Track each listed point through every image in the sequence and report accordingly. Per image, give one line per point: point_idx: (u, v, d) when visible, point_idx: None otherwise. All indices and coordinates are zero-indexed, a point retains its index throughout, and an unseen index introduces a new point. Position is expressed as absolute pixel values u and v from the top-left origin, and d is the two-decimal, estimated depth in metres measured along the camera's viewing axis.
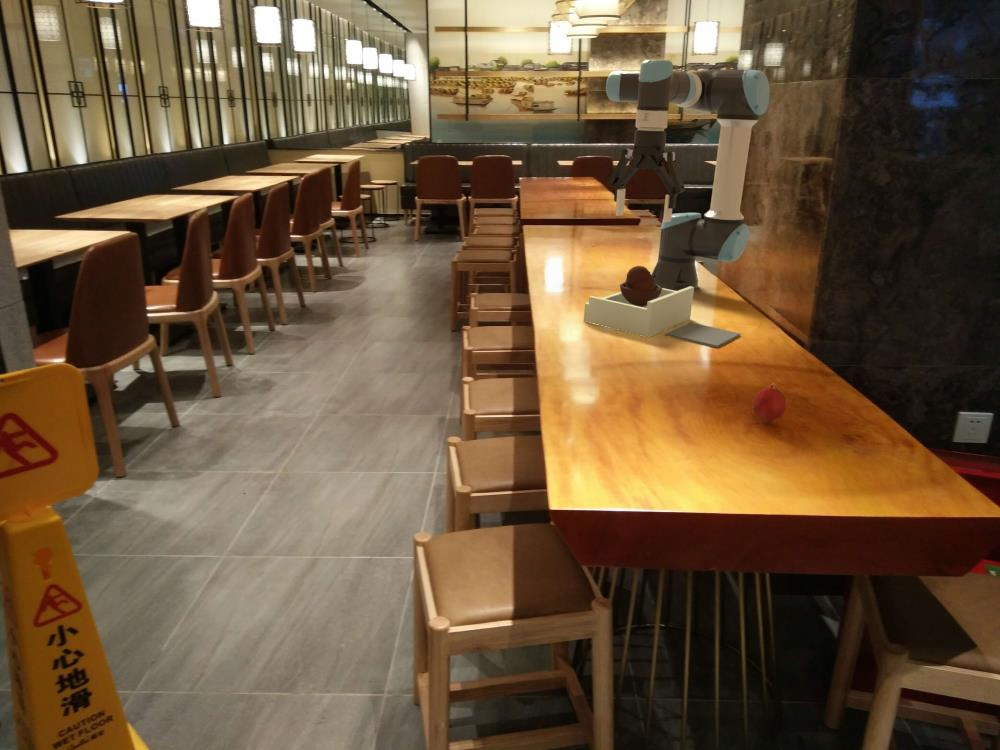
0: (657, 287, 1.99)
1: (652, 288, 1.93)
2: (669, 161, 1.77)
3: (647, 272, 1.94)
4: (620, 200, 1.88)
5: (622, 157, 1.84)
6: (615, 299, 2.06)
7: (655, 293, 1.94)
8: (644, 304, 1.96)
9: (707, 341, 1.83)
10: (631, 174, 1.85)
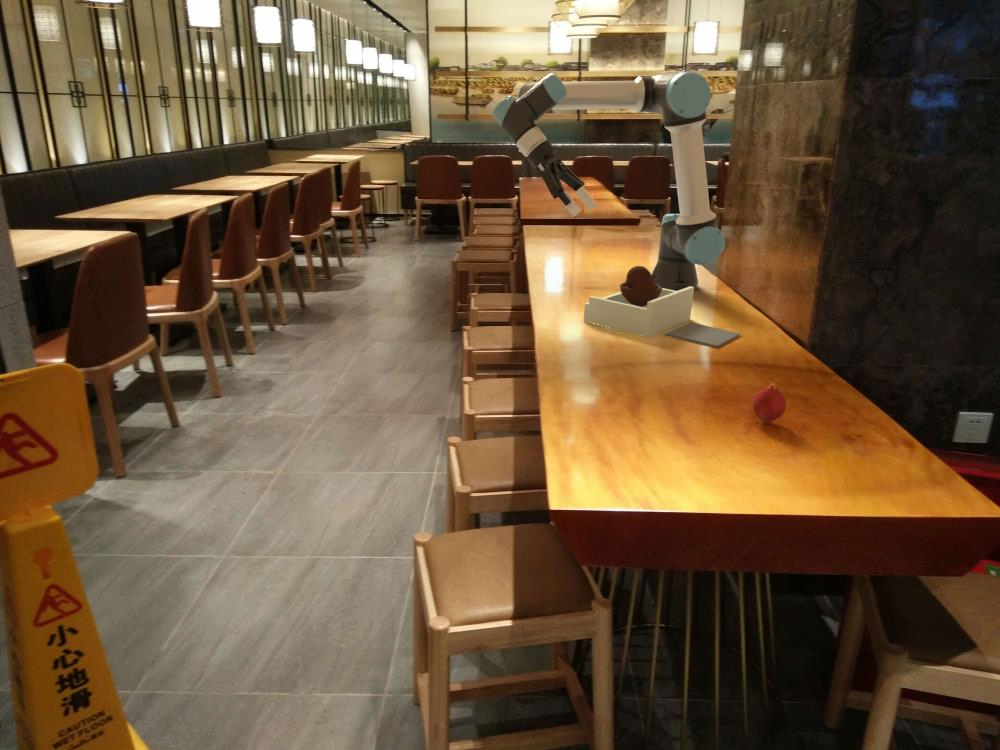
0: (657, 287, 1.99)
1: (652, 288, 1.93)
2: None
3: (647, 272, 1.94)
4: (582, 198, 2.05)
5: None
6: (615, 299, 2.06)
7: (655, 293, 1.94)
8: (644, 304, 1.96)
9: (707, 341, 1.83)
10: (568, 178, 2.03)
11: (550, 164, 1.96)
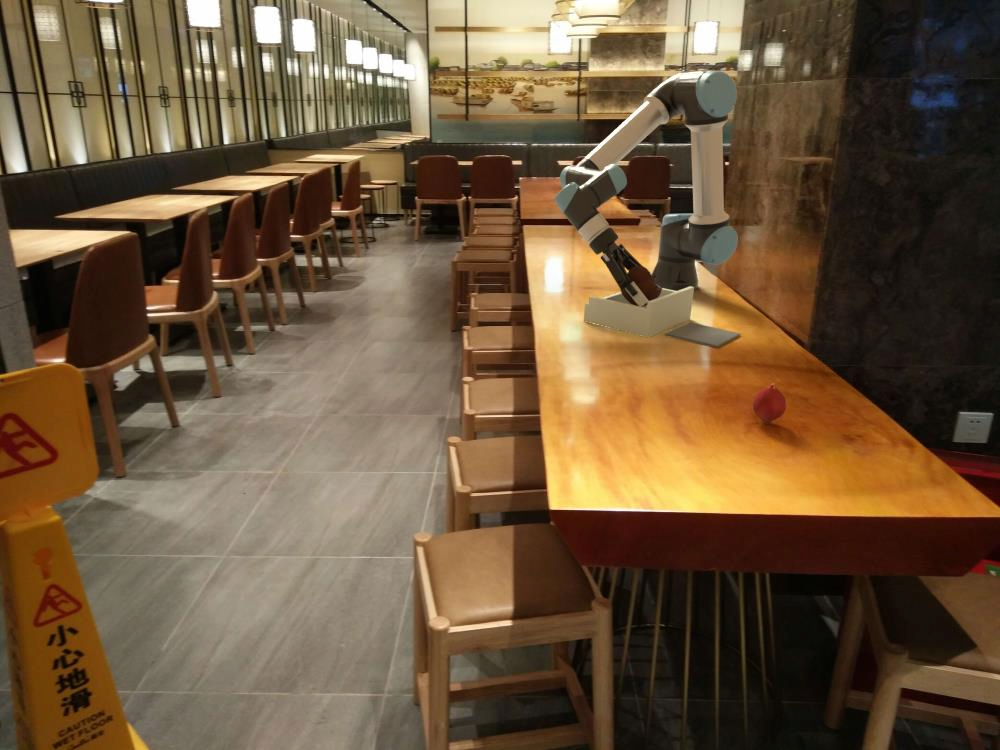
0: (657, 287, 1.99)
1: (652, 288, 1.93)
2: None
3: (647, 272, 1.94)
4: None
5: None
6: (615, 299, 2.06)
7: (655, 293, 1.94)
8: (644, 304, 1.96)
9: (707, 341, 1.83)
10: (629, 265, 2.01)
11: (613, 251, 1.95)
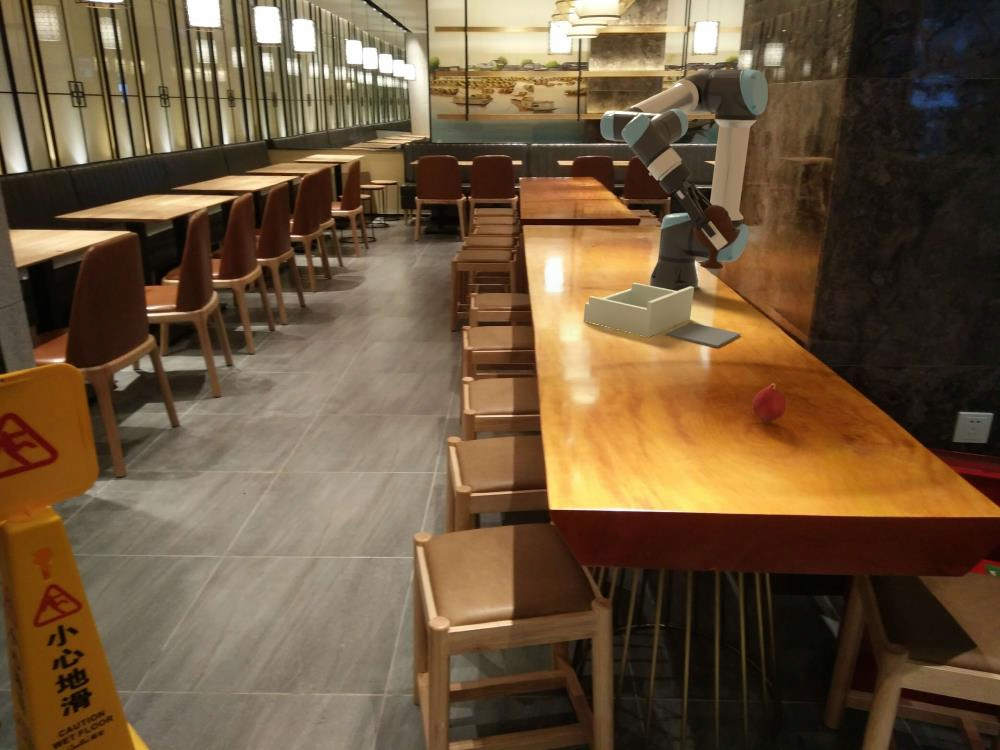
0: (734, 229, 1.81)
1: (731, 229, 1.76)
2: None
3: (725, 211, 1.76)
4: None
5: None
6: (615, 299, 2.06)
7: (734, 234, 1.76)
8: None
9: (707, 341, 1.83)
10: (703, 205, 1.83)
11: (687, 189, 1.78)
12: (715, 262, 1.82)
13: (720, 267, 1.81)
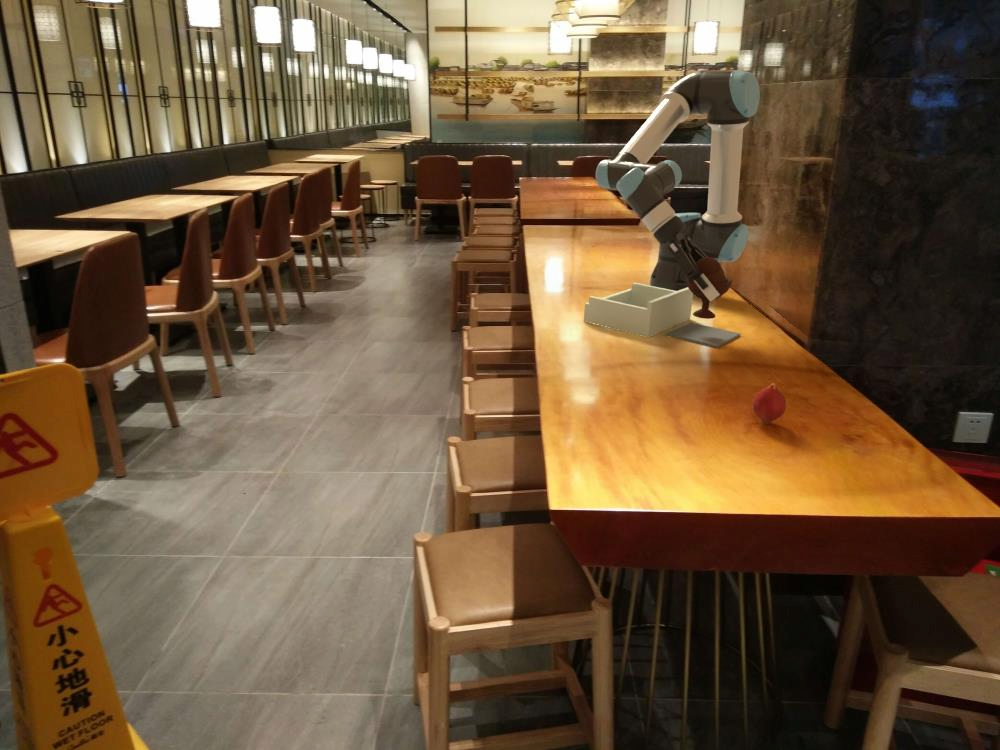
0: (726, 280, 1.85)
1: (723, 281, 1.80)
2: None
3: (717, 263, 1.80)
4: None
5: None
6: (615, 299, 2.06)
7: (726, 286, 1.80)
8: None
9: (707, 341, 1.83)
10: (696, 256, 1.87)
11: (680, 241, 1.81)
12: (708, 312, 1.85)
13: (712, 317, 1.85)
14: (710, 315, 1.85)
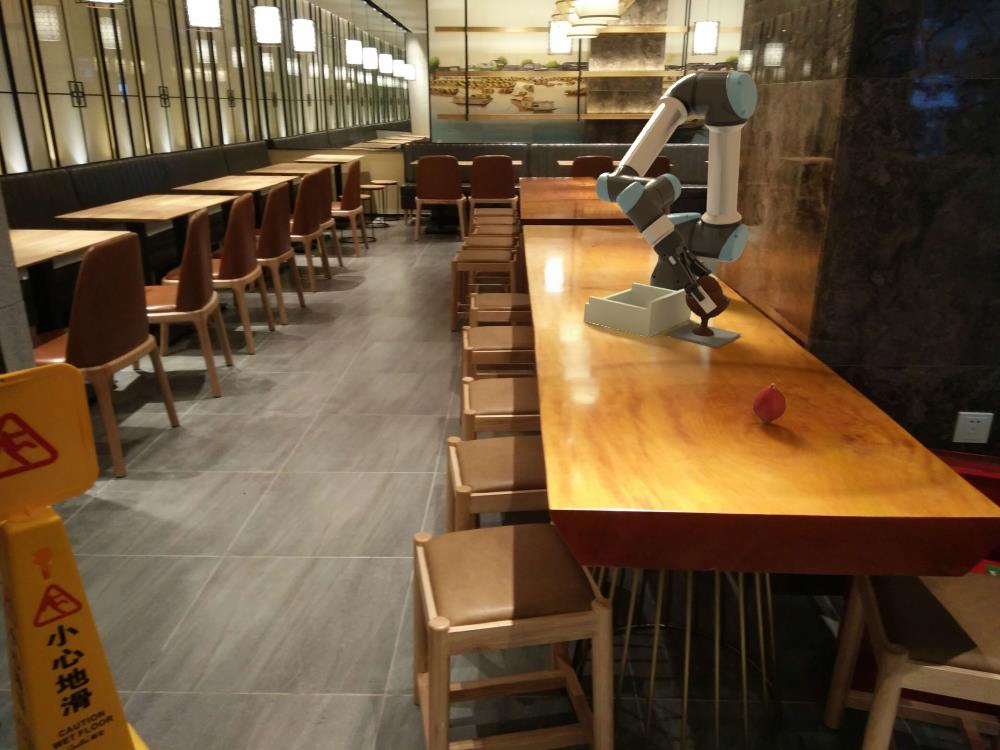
0: (724, 298, 1.87)
1: (721, 299, 1.82)
2: None
3: (716, 282, 1.82)
4: None
5: None
6: (615, 299, 2.06)
7: (724, 304, 1.82)
8: (712, 316, 1.85)
9: (707, 341, 1.83)
10: (695, 268, 1.89)
11: (680, 255, 1.83)
12: (706, 329, 1.88)
13: (711, 334, 1.87)
14: (709, 333, 1.87)
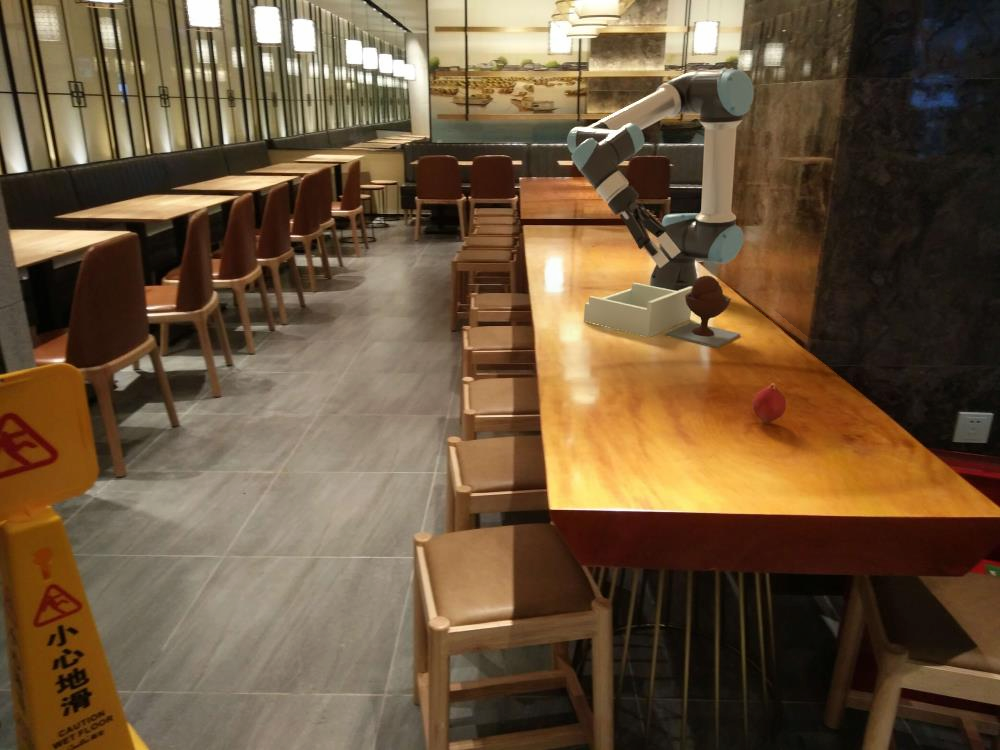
0: (724, 298, 1.87)
1: (721, 299, 1.82)
2: None
3: (716, 282, 1.82)
4: (664, 245, 1.93)
5: None
6: (615, 299, 2.06)
7: (724, 305, 1.82)
8: (712, 316, 1.85)
9: (707, 341, 1.83)
10: (650, 225, 1.91)
11: (634, 211, 1.84)
12: (706, 329, 1.88)
13: (711, 334, 1.87)
14: (709, 333, 1.87)
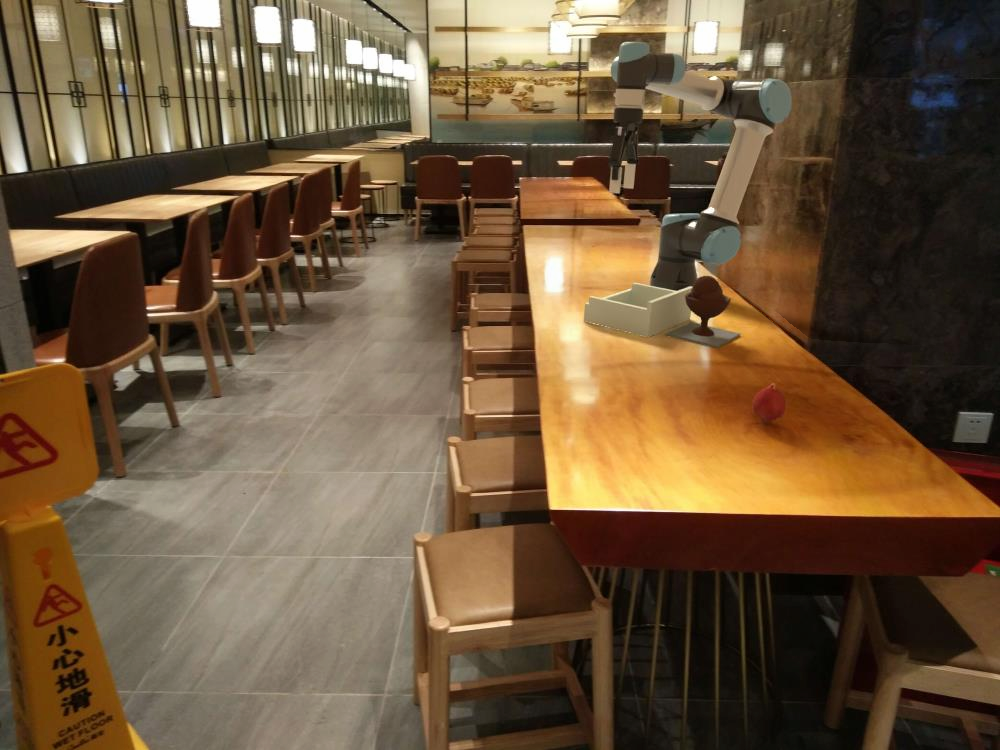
0: (724, 298, 1.87)
1: (721, 299, 1.82)
2: None
3: (716, 282, 1.82)
4: (626, 174, 2.05)
5: None
6: (615, 299, 2.06)
7: (724, 304, 1.82)
8: (712, 316, 1.85)
9: (707, 341, 1.83)
10: (630, 150, 2.01)
11: (628, 132, 1.93)
12: (706, 329, 1.88)
13: (711, 334, 1.87)
14: (709, 333, 1.87)
